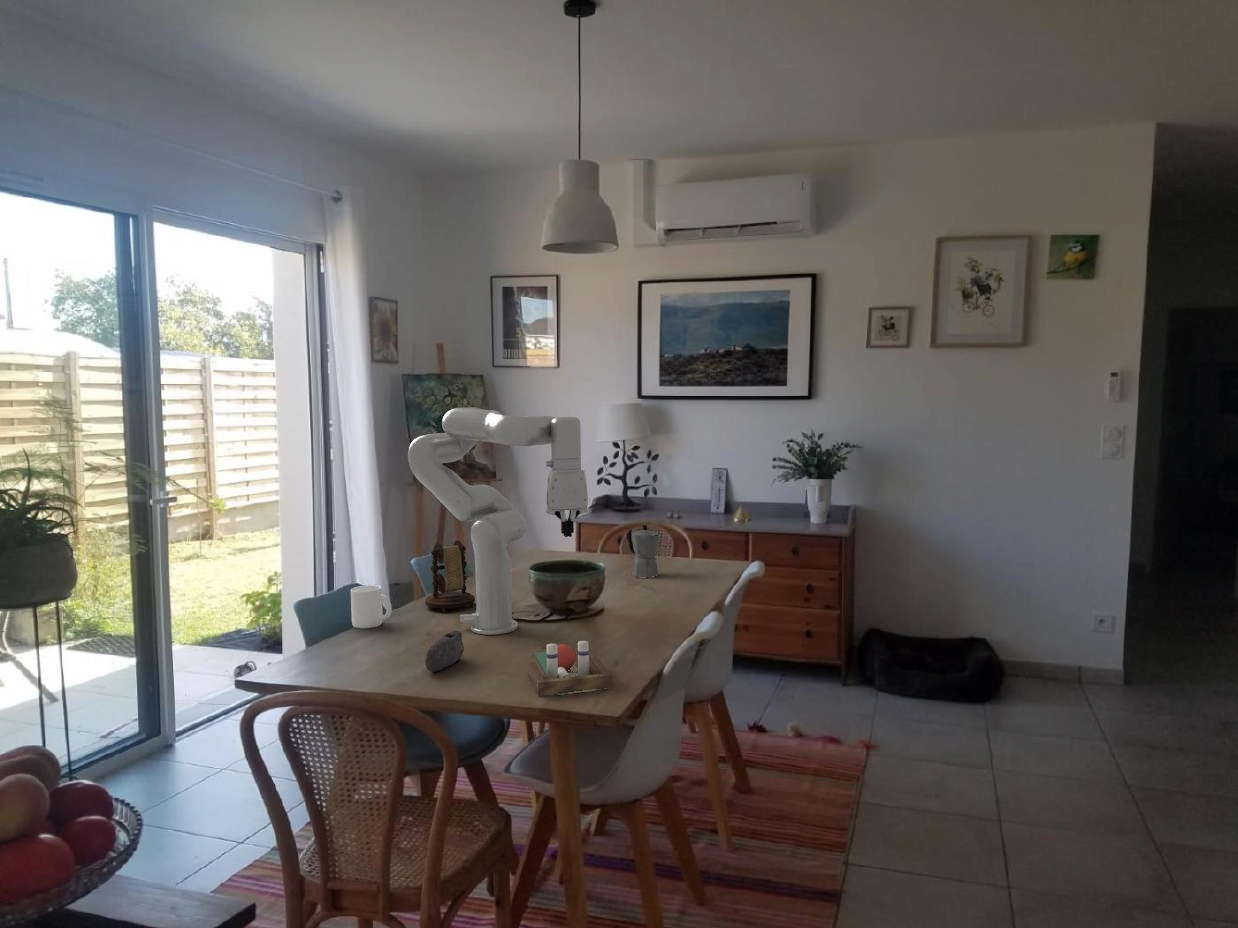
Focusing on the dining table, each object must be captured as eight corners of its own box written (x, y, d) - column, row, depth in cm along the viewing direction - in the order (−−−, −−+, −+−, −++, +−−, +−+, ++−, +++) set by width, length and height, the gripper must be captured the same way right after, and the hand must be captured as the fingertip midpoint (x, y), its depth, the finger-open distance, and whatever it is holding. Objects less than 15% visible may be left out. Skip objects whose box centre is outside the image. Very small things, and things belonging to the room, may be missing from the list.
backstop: (538, 696, 175) (537, 682, 175) (527, 675, 188) (527, 662, 188) (611, 688, 179) (611, 675, 179) (596, 668, 192) (596, 655, 192)
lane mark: (534, 653, 204) (534, 652, 204) (566, 650, 206) (566, 649, 206) (557, 695, 175) (557, 694, 175) (594, 691, 177) (594, 690, 177)
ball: (547, 641, 191) (544, 660, 194) (556, 658, 186) (553, 678, 189) (571, 636, 193) (568, 656, 196) (581, 654, 189) (577, 673, 192)
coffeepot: (668, 576, 289) (668, 525, 287) (649, 580, 282) (649, 528, 281) (636, 570, 300) (636, 520, 298) (618, 574, 293) (617, 523, 292)
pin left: (547, 684, 182) (546, 646, 181) (547, 681, 184) (546, 643, 184) (558, 684, 182) (557, 646, 181) (558, 680, 185) (557, 643, 184)
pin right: (578, 681, 184) (577, 644, 183) (578, 677, 186) (577, 640, 185) (589, 681, 184) (588, 643, 183) (588, 677, 186) (588, 640, 186)
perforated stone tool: (436, 677, 188) (435, 647, 187) (416, 675, 189) (415, 645, 189) (469, 657, 202) (469, 629, 201) (450, 655, 203) (450, 628, 203)
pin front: (560, 679, 187) (569, 692, 179) (552, 673, 186) (561, 685, 178) (567, 671, 187) (576, 683, 179) (560, 664, 186) (568, 676, 178)
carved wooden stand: (440, 615, 240) (438, 547, 238) (416, 606, 251) (414, 541, 250) (484, 606, 250) (482, 541, 248) (459, 598, 261) (457, 535, 259)
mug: (400, 623, 233) (398, 586, 232) (382, 631, 225) (381, 593, 224) (364, 619, 237) (362, 584, 236) (345, 627, 229) (344, 590, 228)
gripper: (539, 467, 207) (541, 540, 208) (598, 465, 211) (599, 536, 212) (535, 465, 214) (536, 535, 215) (591, 463, 218) (592, 532, 219)
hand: (567, 535), depth 214 cm, fingers closed
